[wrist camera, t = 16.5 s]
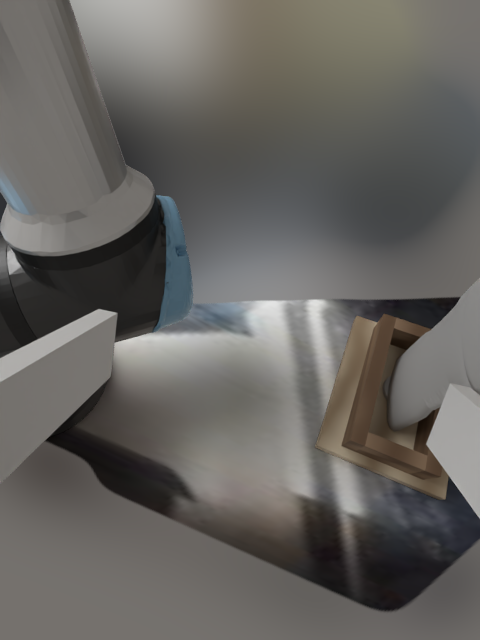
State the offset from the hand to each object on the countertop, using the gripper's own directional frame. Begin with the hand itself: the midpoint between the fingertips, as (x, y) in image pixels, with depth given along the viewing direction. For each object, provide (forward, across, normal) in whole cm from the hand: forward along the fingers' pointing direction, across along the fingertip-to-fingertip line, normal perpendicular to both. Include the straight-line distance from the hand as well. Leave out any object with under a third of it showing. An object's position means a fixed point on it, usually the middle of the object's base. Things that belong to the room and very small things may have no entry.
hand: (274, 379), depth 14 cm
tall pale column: (+28, +18, -10) cm, 35 cm away
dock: (+28, +18, -12) cm, 35 cm away
